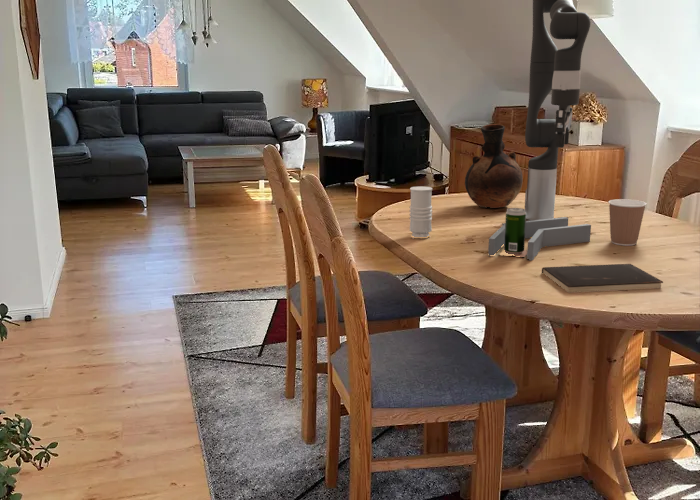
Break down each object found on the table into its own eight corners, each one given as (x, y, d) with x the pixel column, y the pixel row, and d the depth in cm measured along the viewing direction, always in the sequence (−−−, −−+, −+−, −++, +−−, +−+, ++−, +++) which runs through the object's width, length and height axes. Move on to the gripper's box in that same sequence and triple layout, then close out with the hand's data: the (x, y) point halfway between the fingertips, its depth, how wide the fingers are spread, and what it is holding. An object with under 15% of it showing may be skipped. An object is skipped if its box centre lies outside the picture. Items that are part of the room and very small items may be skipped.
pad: (504, 249, 200) (504, 248, 200) (529, 252, 197) (529, 250, 197) (498, 255, 194) (498, 254, 194) (524, 258, 191) (524, 256, 191)
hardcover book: (662, 290, 165) (663, 281, 164) (567, 295, 162) (568, 285, 162) (628, 271, 180) (629, 262, 180) (541, 275, 178) (541, 266, 177)
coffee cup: (641, 239, 209) (645, 200, 206) (643, 248, 200) (647, 206, 197) (604, 237, 213) (608, 198, 210) (605, 245, 203) (608, 204, 200)
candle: (434, 235, 218) (435, 187, 214) (427, 240, 212) (428, 190, 208) (413, 233, 221) (414, 185, 217) (405, 238, 215) (406, 189, 211)
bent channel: (461, 244, 207) (462, 227, 206) (564, 232, 219) (565, 217, 218) (505, 263, 186) (506, 245, 185) (615, 250, 198) (617, 232, 197)
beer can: (524, 255, 193) (526, 212, 190) (504, 254, 194) (506, 211, 191) (523, 250, 198) (526, 208, 195) (504, 249, 199) (506, 207, 196)
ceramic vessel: (513, 202, 268) (517, 122, 260) (528, 211, 251) (533, 126, 243) (458, 203, 266) (460, 123, 258) (470, 213, 249) (473, 127, 241)
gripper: (556, 86, 205) (552, 142, 209) (547, 88, 193) (544, 148, 197) (583, 86, 202) (578, 143, 206) (576, 88, 190) (572, 149, 194)
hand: (562, 145), depth 202 cm, fingers open, 8 cm apart
